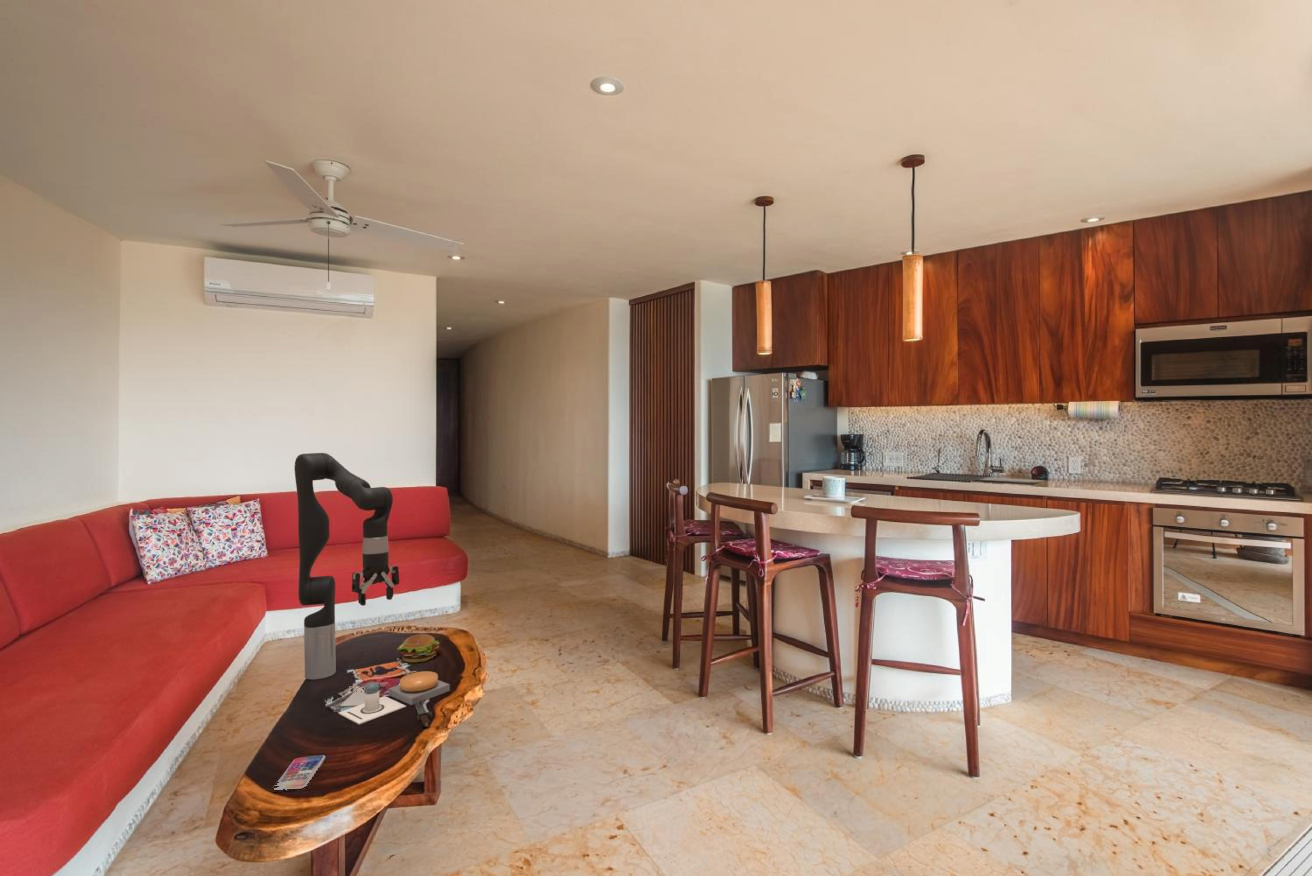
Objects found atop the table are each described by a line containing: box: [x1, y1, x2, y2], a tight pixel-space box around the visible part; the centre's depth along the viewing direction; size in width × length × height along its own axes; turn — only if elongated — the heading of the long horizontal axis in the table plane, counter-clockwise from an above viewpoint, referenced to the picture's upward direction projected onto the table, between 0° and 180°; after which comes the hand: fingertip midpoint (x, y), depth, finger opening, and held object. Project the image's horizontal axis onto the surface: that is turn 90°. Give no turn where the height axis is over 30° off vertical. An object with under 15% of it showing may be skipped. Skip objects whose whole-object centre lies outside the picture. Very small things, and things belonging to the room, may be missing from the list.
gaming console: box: [332, 681, 390, 713], centre depth 190 cm, size 22×1×10 cm
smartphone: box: [274, 754, 326, 791], centre depth 145 cm, size 7×1×15 cm
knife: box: [414, 699, 433, 728], centre depth 179 cm, size 26×2×5 cm
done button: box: [399, 670, 439, 692], centre depth 192 cm, size 11×11×2 cm
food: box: [397, 633, 441, 663], centre depth 224 cm, size 14×14×8 cm
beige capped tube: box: [363, 681, 380, 711], centre depth 180 cm, size 4×4×7 cm
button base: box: [387, 679, 451, 706], centre depth 192 cm, size 13×13×2 cm
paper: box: [337, 695, 407, 725], centre depth 180 cm, size 12×14×1 cm
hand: (376, 602), depth 193 cm, fingers open, 8 cm apart
